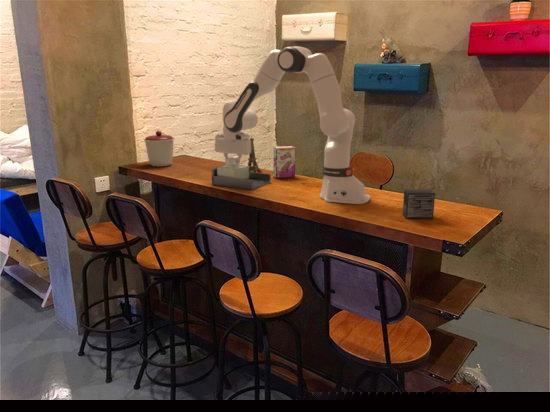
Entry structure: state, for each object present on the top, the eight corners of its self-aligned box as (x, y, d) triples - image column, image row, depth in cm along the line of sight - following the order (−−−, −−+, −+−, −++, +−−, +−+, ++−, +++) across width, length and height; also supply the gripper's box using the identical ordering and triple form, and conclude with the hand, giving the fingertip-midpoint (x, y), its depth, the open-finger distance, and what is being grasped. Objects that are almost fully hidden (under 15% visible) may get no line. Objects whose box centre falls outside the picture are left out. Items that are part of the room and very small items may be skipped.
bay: (270, 182, 233) (270, 167, 231) (252, 190, 218) (252, 173, 216) (232, 177, 244) (231, 163, 242) (212, 184, 229) (211, 169, 227)
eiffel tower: (258, 179, 241) (258, 132, 234) (240, 178, 244) (238, 131, 237) (264, 175, 251) (264, 129, 244) (246, 174, 253) (245, 129, 246)
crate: (248, 178, 236) (248, 156, 233) (233, 184, 225) (233, 160, 221) (233, 176, 241) (232, 154, 238) (217, 181, 229) (216, 158, 226)
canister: (139, 166, 273) (136, 131, 267) (158, 161, 289) (155, 128, 283) (164, 169, 266) (161, 133, 260) (182, 163, 282) (179, 129, 276)
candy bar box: (276, 178, 241) (276, 148, 237) (273, 176, 246) (272, 146, 241) (295, 177, 245) (295, 147, 240) (292, 175, 250) (292, 145, 245)
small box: (428, 214, 180) (431, 188, 177) (433, 219, 173) (436, 192, 170) (401, 214, 180) (403, 188, 177) (405, 219, 174) (408, 192, 171)
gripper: (211, 134, 229) (212, 161, 232) (245, 136, 219) (246, 165, 223) (218, 133, 234) (219, 159, 238) (252, 135, 224) (253, 162, 228)
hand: (232, 162), depth 230 cm, fingers open, 5 cm apart
